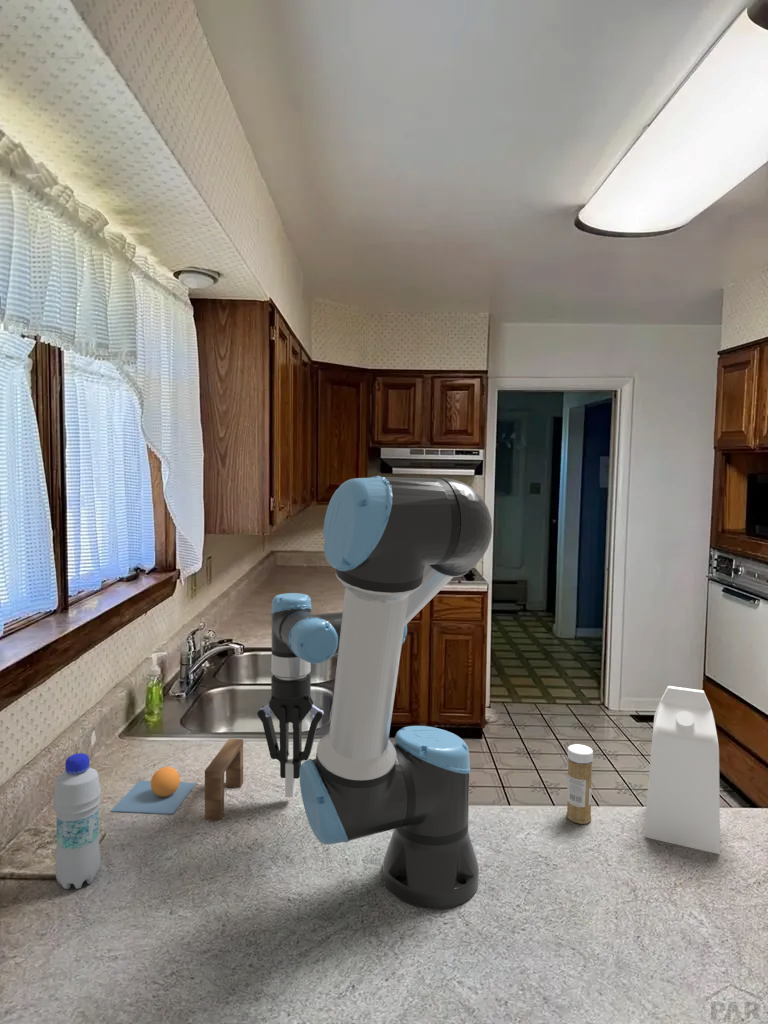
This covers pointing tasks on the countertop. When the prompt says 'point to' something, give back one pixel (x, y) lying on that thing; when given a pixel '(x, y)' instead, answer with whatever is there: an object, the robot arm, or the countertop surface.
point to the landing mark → (152, 799)
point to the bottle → (77, 822)
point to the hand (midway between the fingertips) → (290, 793)
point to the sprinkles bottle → (579, 783)
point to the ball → (165, 781)
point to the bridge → (214, 777)
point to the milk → (684, 772)
